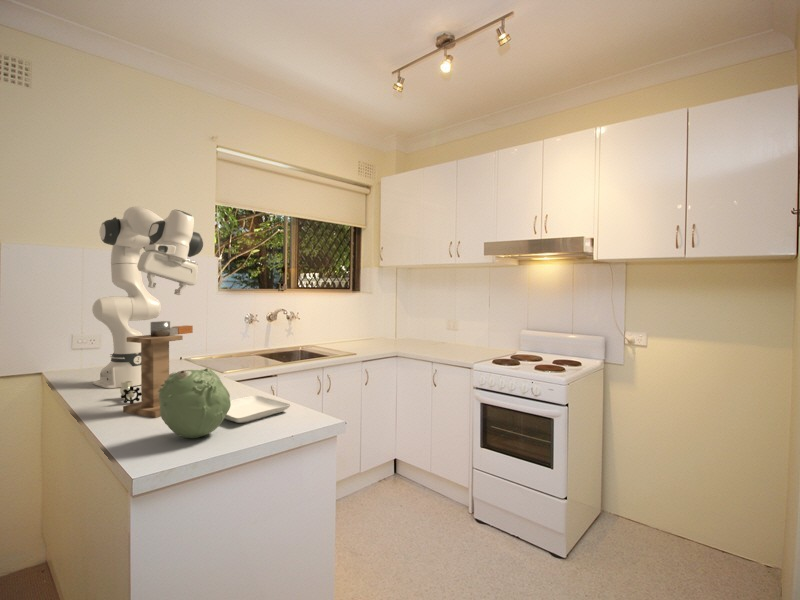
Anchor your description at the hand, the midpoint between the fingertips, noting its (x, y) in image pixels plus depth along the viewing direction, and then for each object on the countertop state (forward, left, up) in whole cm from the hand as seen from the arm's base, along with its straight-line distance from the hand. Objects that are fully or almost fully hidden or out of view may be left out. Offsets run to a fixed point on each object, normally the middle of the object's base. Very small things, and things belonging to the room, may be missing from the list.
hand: (164, 291), depth 142 cm
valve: (-23, +3, -42) cm, 48 cm away
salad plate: (+29, +9, -42) cm, 52 cm away
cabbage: (+31, -14, -42) cm, 54 cm away
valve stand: (-3, -1, -42) cm, 42 cm away
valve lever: (-3, +6, -16) cm, 17 cm away
